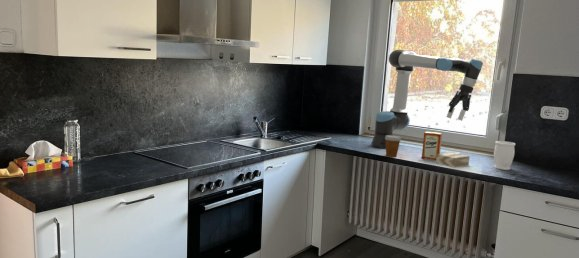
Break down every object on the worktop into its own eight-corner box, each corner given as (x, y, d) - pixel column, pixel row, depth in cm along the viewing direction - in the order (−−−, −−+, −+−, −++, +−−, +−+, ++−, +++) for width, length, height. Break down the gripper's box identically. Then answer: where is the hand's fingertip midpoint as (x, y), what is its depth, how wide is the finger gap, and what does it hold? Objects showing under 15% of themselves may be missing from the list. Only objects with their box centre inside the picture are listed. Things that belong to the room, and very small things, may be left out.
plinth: (435, 162, 261) (436, 154, 260) (450, 160, 269) (451, 152, 268) (453, 167, 251) (454, 158, 250) (468, 164, 259) (469, 156, 258)
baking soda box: (421, 158, 271) (424, 132, 269) (423, 156, 277) (425, 130, 274) (438, 160, 267) (440, 133, 265) (439, 158, 273) (442, 132, 271)
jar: (495, 165, 262) (498, 140, 259) (514, 168, 255) (517, 142, 253) (489, 168, 254) (492, 141, 251) (509, 171, 247) (512, 144, 245)
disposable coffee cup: (388, 157, 268) (389, 137, 266) (380, 154, 277) (382, 134, 275) (402, 157, 270) (404, 137, 268) (394, 154, 279) (396, 135, 278)
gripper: (462, 83, 255) (449, 118, 260) (482, 90, 272) (469, 122, 276) (451, 80, 261) (438, 114, 265) (471, 86, 277) (458, 118, 282)
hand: (454, 118), depth 271 cm, fingers open, 13 cm apart
